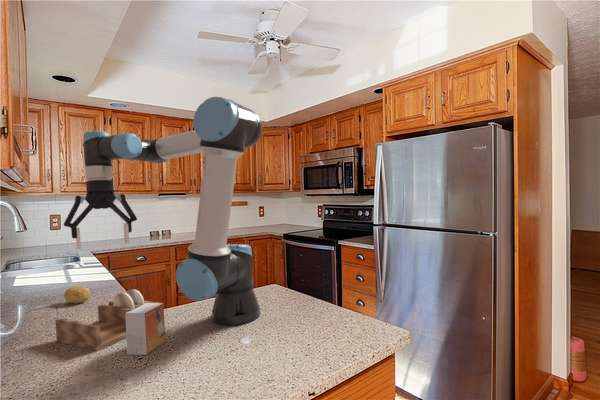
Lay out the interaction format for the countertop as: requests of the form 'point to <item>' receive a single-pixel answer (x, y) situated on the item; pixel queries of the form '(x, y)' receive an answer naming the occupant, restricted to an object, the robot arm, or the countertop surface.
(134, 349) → the small box
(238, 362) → the countertop surface
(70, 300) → the potato
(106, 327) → the rack
